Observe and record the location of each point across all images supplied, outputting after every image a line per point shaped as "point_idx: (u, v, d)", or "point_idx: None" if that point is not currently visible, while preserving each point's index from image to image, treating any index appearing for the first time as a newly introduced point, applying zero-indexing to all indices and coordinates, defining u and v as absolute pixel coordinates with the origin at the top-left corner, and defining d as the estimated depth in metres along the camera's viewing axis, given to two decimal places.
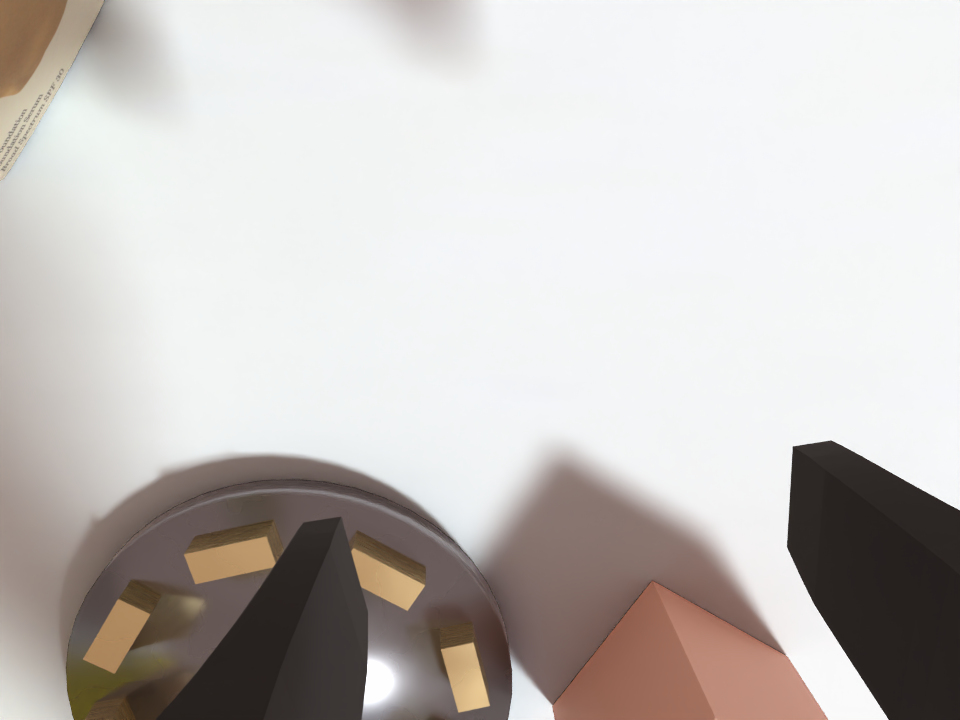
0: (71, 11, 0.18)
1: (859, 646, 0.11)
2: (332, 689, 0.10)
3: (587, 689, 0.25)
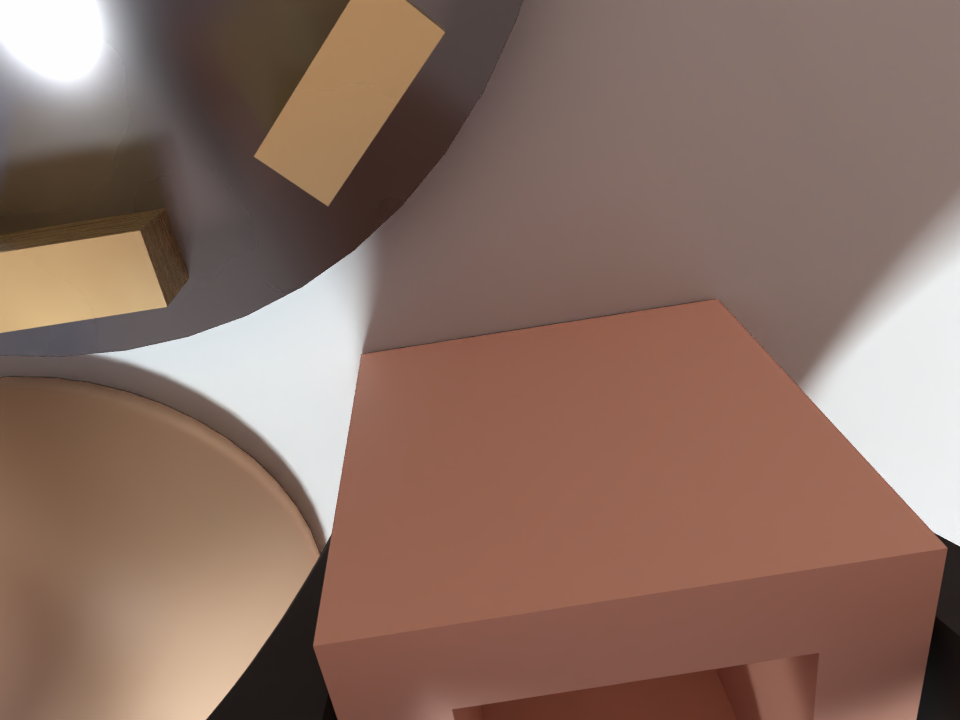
0: None
1: None
2: None
3: (475, 365, 0.11)
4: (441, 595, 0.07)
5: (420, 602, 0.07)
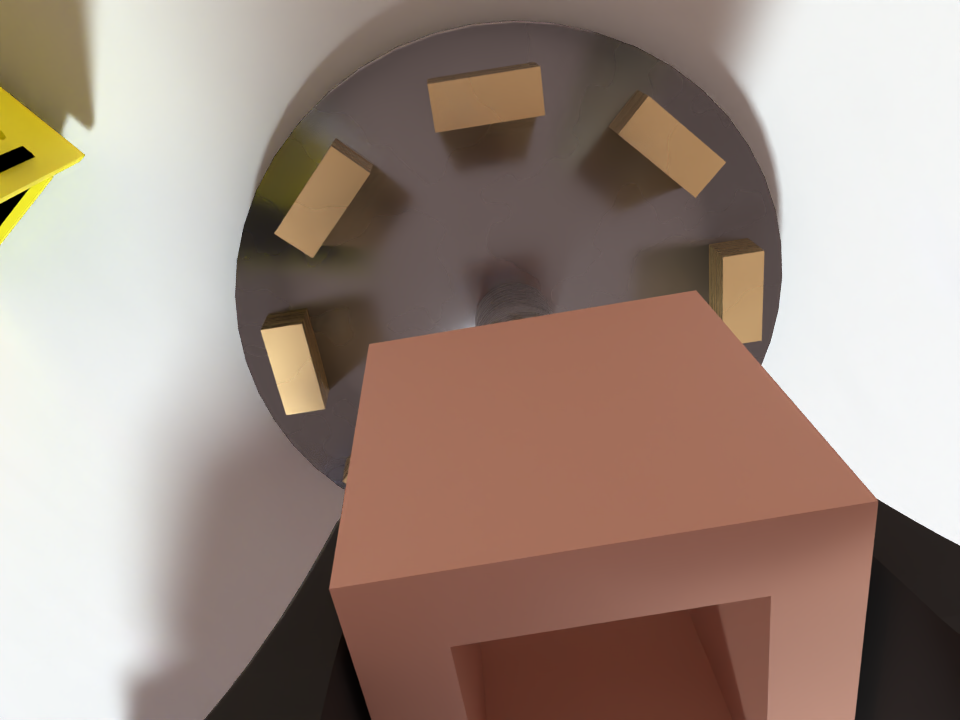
0: None
1: None
2: None
3: (472, 352, 0.12)
4: (439, 546, 0.08)
5: (421, 552, 0.08)
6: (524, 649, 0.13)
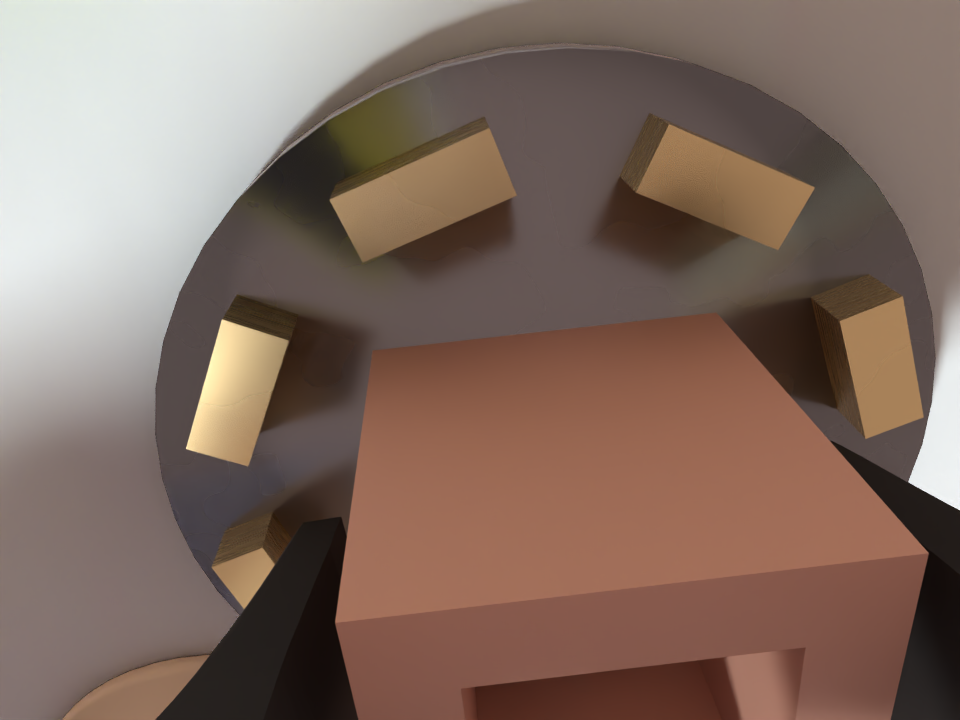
0: None
1: None
2: (332, 689, 0.10)
3: (483, 365, 0.12)
4: (456, 580, 0.08)
5: (436, 585, 0.08)
6: None
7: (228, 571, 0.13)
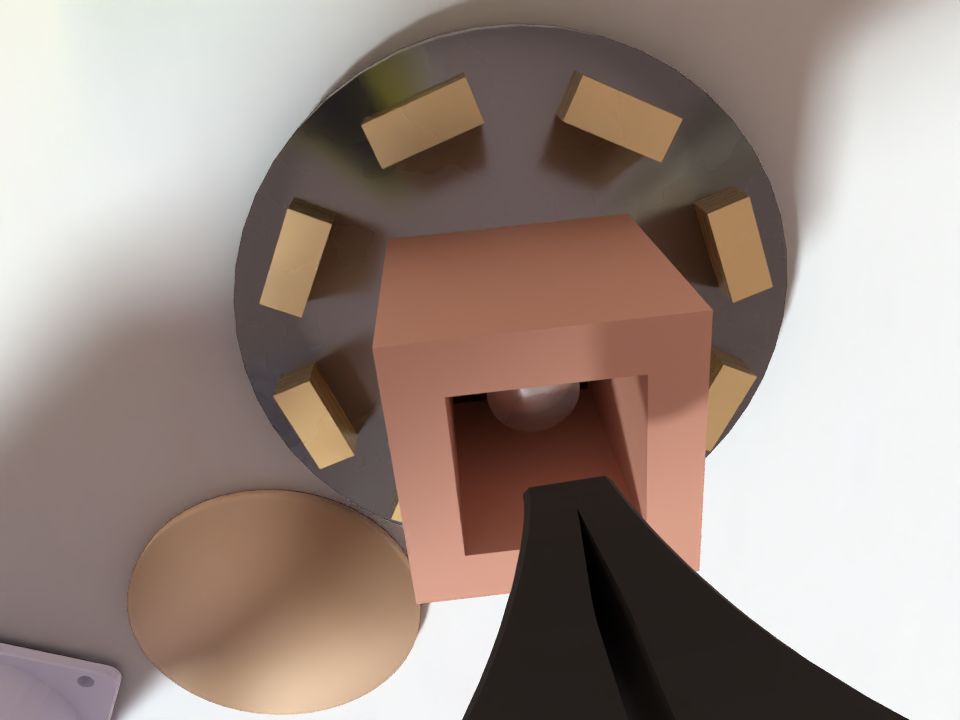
0: None
1: None
2: None
3: (463, 244, 0.17)
4: (441, 330, 0.13)
5: (430, 333, 0.13)
6: (489, 463, 0.18)
7: (284, 399, 0.19)
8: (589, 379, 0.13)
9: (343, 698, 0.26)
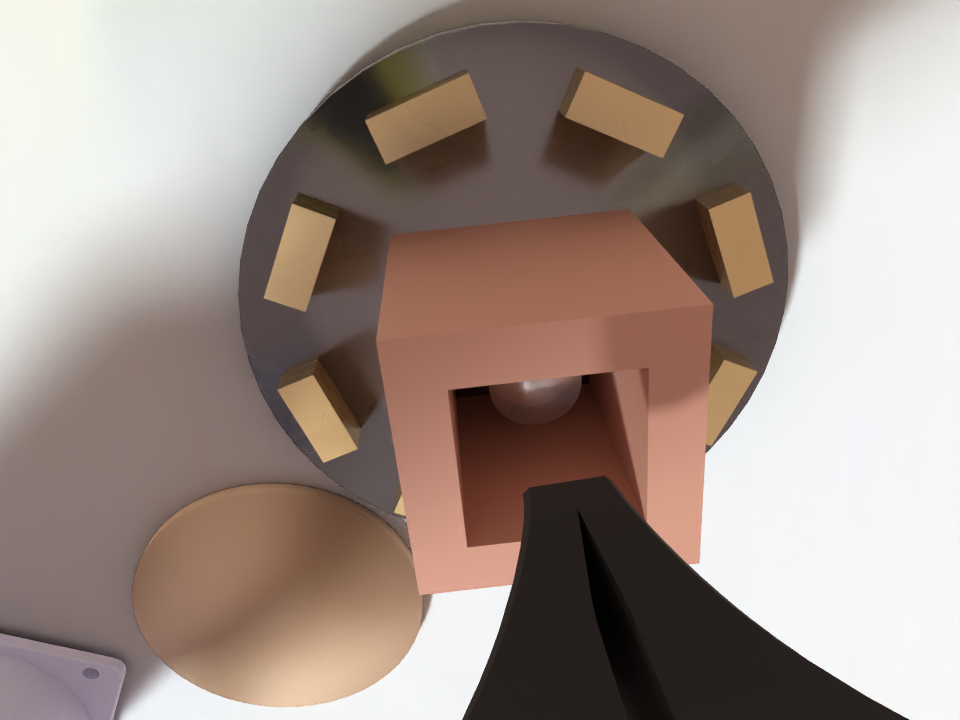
0: None
1: None
2: None
3: (466, 239, 0.17)
4: (444, 324, 0.13)
5: (433, 326, 0.13)
6: (492, 456, 0.18)
7: (288, 393, 0.19)
8: (590, 372, 0.13)
9: (346, 691, 0.26)
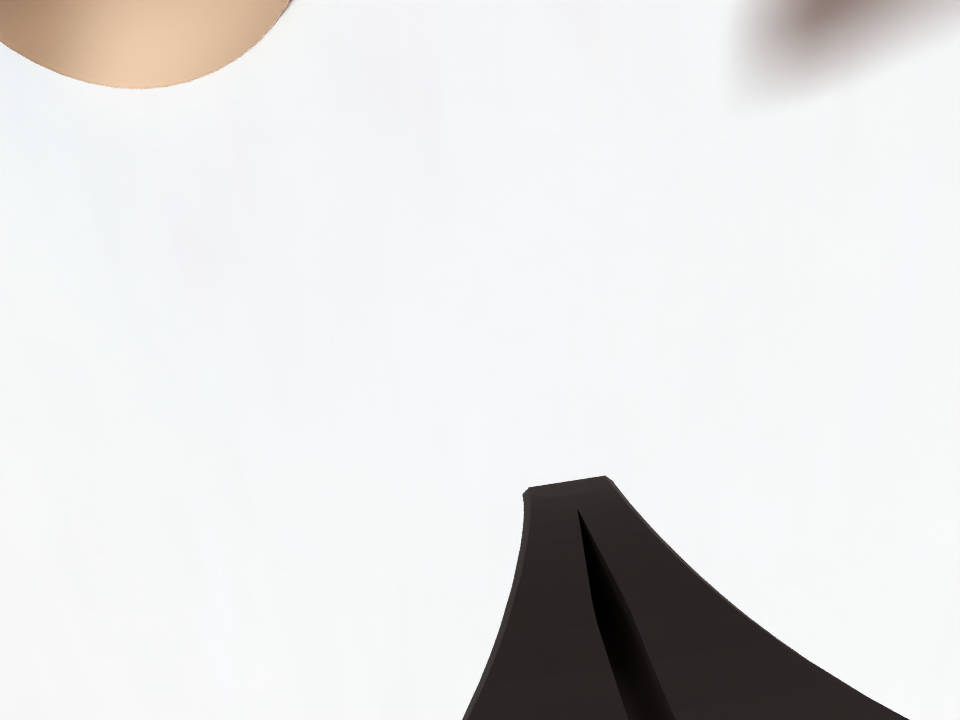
0: None
1: None
2: None
3: None
4: None
5: None
6: None
7: None
8: None
9: (211, 60, 0.18)
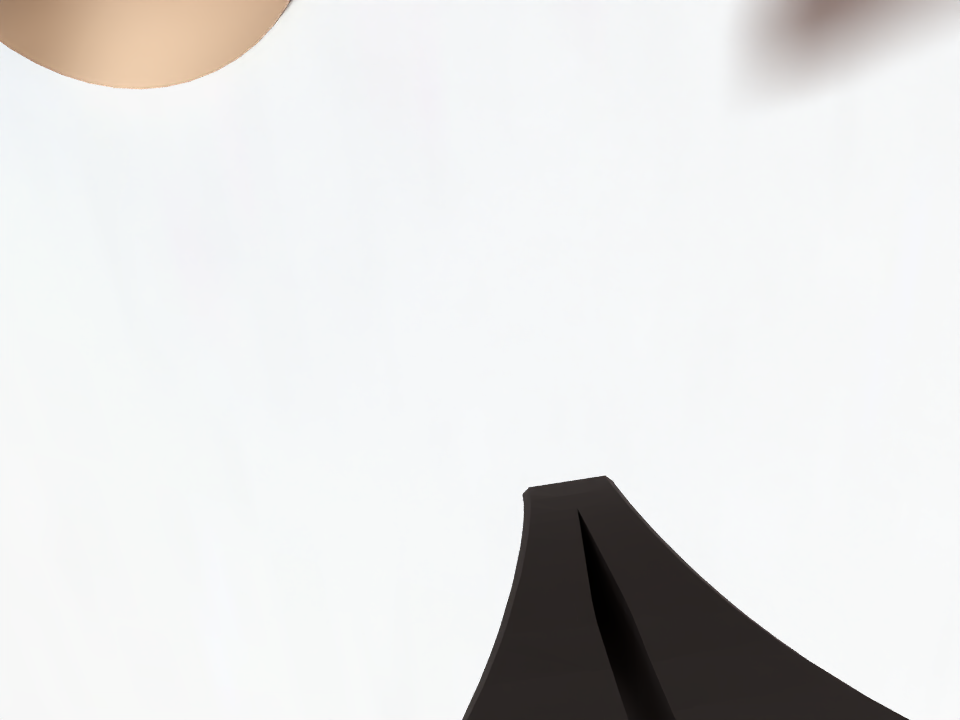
0: None
1: None
2: None
3: None
4: None
5: None
6: None
7: None
8: None
9: (211, 60, 0.18)
